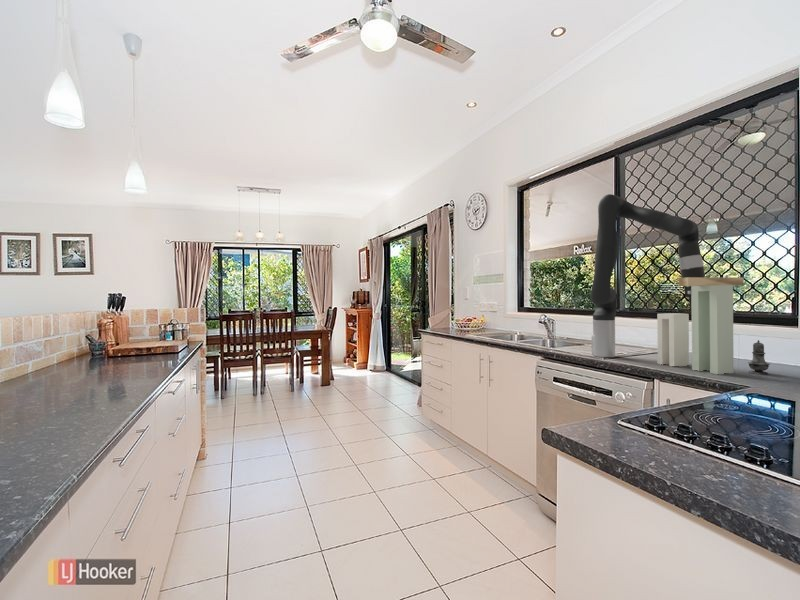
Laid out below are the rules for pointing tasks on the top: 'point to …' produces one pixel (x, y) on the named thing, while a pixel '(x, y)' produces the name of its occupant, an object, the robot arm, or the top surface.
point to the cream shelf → (673, 339)
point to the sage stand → (712, 328)
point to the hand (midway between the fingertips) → (698, 307)
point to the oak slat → (711, 281)
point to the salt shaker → (758, 360)
